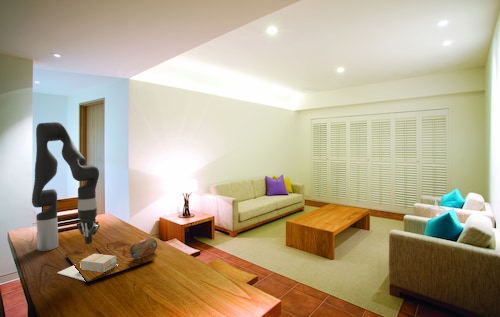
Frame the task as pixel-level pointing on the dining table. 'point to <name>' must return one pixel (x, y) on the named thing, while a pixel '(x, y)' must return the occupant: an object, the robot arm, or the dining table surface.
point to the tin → (143, 248)
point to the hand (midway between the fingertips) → (88, 243)
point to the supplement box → (98, 262)
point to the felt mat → (72, 273)
